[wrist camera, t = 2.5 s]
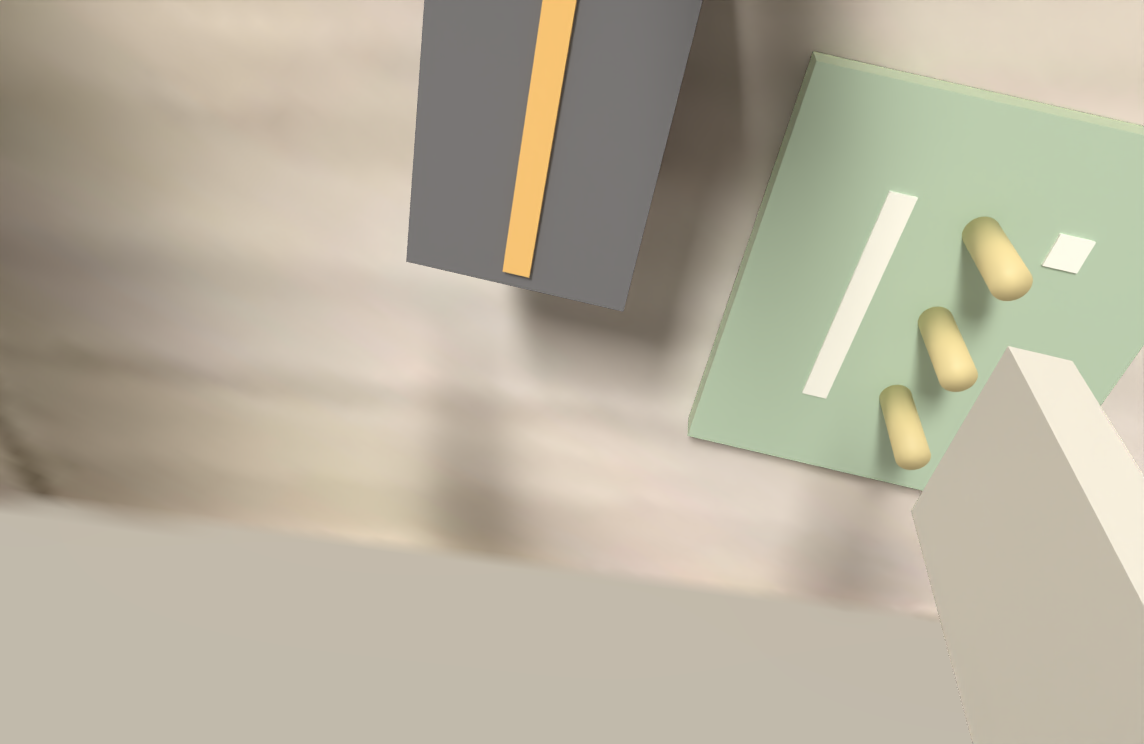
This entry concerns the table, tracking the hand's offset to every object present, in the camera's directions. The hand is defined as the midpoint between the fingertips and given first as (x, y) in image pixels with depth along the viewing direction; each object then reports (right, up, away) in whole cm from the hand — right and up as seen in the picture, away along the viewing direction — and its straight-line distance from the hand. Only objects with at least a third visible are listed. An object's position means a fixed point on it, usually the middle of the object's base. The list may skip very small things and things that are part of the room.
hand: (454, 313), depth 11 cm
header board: (+13, +1, +16) cm, 20 cm away
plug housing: (+2, +9, +12) cm, 15 cm away
